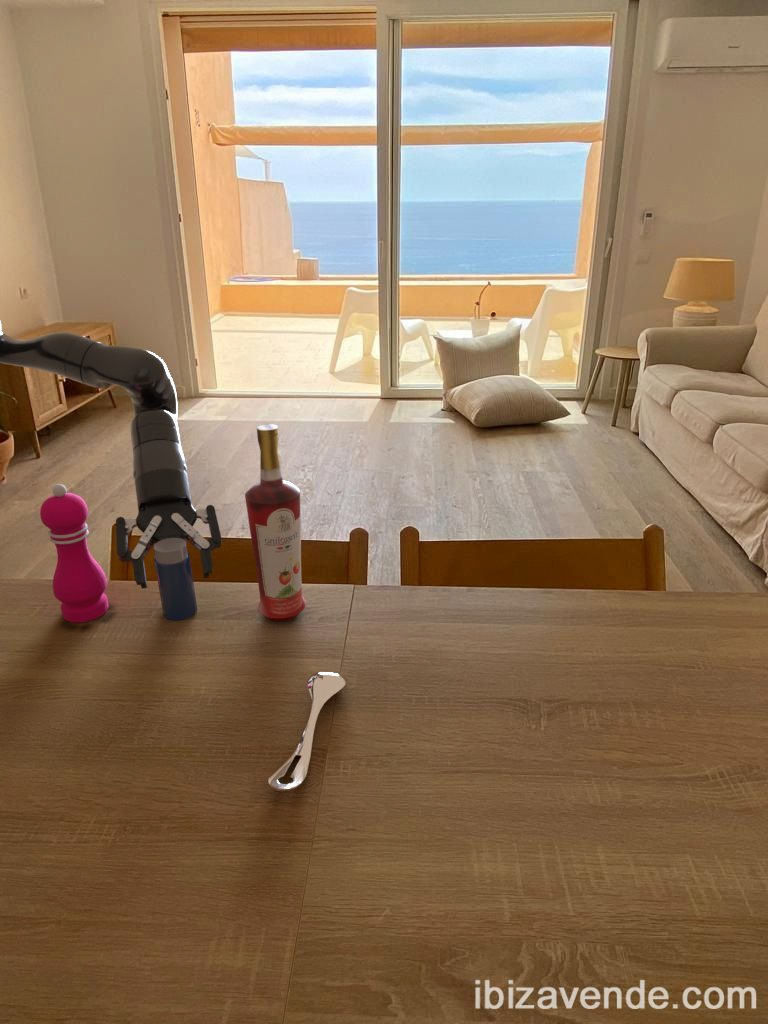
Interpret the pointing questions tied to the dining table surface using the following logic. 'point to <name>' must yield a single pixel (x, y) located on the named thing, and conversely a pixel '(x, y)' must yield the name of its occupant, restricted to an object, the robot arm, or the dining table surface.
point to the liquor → (275, 533)
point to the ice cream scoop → (308, 729)
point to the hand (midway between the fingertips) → (175, 581)
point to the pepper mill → (74, 558)
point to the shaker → (175, 579)
